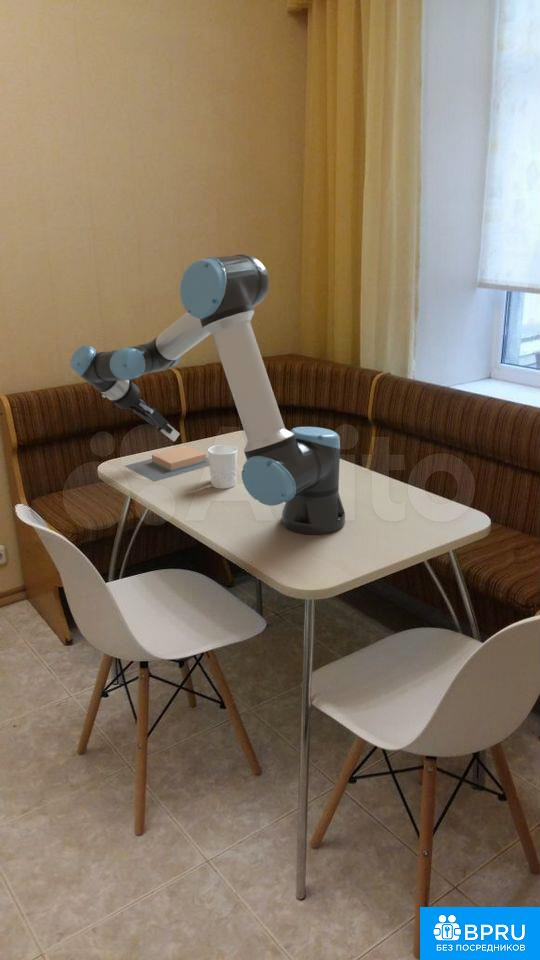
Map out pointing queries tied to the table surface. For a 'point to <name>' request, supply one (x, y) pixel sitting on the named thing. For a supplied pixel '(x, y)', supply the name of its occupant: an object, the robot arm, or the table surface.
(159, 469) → the mat
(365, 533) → the table surface
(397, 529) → the table surface
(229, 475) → the white cup
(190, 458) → the tile
